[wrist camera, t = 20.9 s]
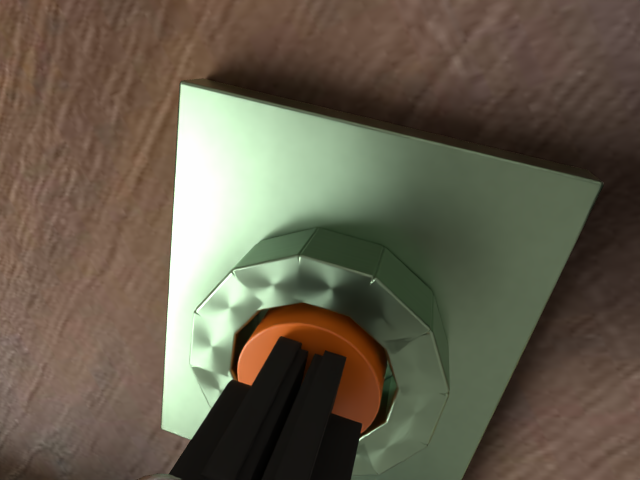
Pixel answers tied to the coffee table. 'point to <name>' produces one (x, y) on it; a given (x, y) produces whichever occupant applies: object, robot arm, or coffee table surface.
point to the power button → (317, 336)
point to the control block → (362, 260)
